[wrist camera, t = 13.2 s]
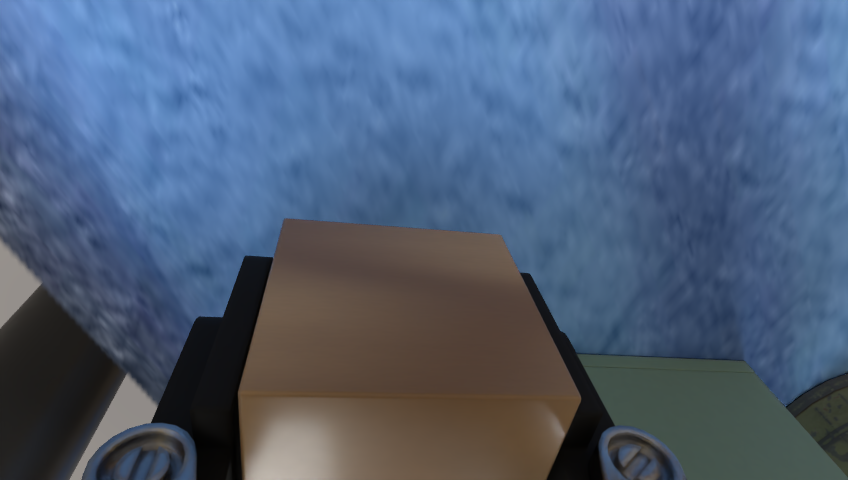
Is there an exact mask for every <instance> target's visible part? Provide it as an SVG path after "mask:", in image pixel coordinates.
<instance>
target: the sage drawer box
mask: <svg viewBox="0 0 848 480" xmlns="http://www.w3.org/2000/svg"><path fill="white" fill-rule="evenodd" d="M577 355H578V357H579V359H580V361H581V363H582V365H583V367H584V368H585V370H586V372H587V374H588V376H589V378H590V380H591V382H592V383H593V385H594V387H595V389H596V391H597V393H598V395H599V397H600V398H601V400H602V402H603V404H604V406H605V408H606V410H607V411H608V413H609V415H610V417H611V419H612V421H613V423H614V425H615V426H618V425H622V426H632V427H635V428H638V429H641V430H644V431H646V432H647V433H649V434H651V435H653V436H655V437H656V438H658V439H659V440H660V441H661V442H663V443H664V444H665V445H666V446H667V447H668V448H669V449H670V450H671V451H672V452H673V454H674V455H675V456H676V457H677V459H678V461H679V463H680V465H681V467H682V468H683V471H684V474H685V476H686V479H687V480H848V477H847V476H846V475H845V474H844V473H843V472H842V470H841V469H840V468H839V467H838V466H837V465H836V464H835V463H834V461H833V460H832V459H831V458H830V457H829V456H828V455H827V454H826V452H825V451H824V450H823V449H822V448H821V447H820V446H819V445H818V443H817V442H816V441H815V440H814V439H813V438H812V437H811V436H810V434H809V433H808V432H807V431H806V430H805V429H804V428H803V427H802V425H801V424H800V423H799V422H798V421H797V420H796V419H795V418H794V416H793V415H792V414H791V413H790V412H789V411H788V410H787V409H786V407H785V406H784V405H783V404H782V403H781V402H780V401H779V399H778V398H777V397H776V396H775V395H774V394H773V393H772V392H771V390H770V389H769V388H768V387H767V386H766V385H765V384H764V383H763V381H762V380H761V379H760V378H759V377H758V376H757V375H756V374H755V372H754V371H753V370H752V368H751V367H750V366H749V365H748V364H747V363H746V362H745V361H732V360H708V359H685V358H661V357H637V356H613V355H590V354H577Z"/></svg>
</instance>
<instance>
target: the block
mask: <svg viewBox="0 0 848 480" xmlns="http://www.w3.org/2000/svg"><path fill="white" fill-rule="evenodd" d="M580 402H581V396H580V394H579V392H578V390H577V388H576V386H575V384H574V381H573V379H572V377H571V375H570V373H569V371H568V369H567V367H566V365H565V363H564V361H563V359H562V357H561V355H560V353H559V351H558V349H557V347H556V345H555V343H554V341H553V339H552V337H551V335H550V333H549V331H548V329H547V327H546V325H545V323H544V321H543V319H542V317H541V315H540V313H539V311H538V309H537V307H536V305H535V303H534V301H533V299H532V297H531V295H530V293H529V291H528V288H527V286H526V284H525V282H524V280H523V278H522V276H521V274H520V272H519V270H518V268H517V266H516V264H515V262H514V260H513V258H512V256H511V254H510V252H509V250H508V248H507V246H506V244H505V242H504V240H503V238H502V236H501V235H499V234H487V233H474V232H460V231H447V230H434V229H421V228H407V227H394V226H381V225H368V224H354V223H341V222H328V221H314V220H301V219H288V218H286V219H284V221H283V224H282V228H281V231H280V235H279V239H278V243H277V247H276V250H275V254H274V258H273V262H272V265H271V269H270V273H269V277H268V281H267V284H266V288H265V292H264V296H263V299H262V303H261V307H260V311H259V315H258V318H257V322H256V326H255V330H254V333H253V337H252V341H251V345H250V349H249V352H248V356H247V360H246V364H245V367H244V371H243V375H242V379H241V383H240V386H239V390H238V408H239V428H240V448H241V467H242V480H547V478H548V475H549V473H550V471H551V468H552V466H553V464H554V462H555V459H556V457H557V455H558V452H559V450H560V448H561V445H562V443H563V441H564V439H565V436H566V434H567V432H568V429H569V427H570V425H571V423H572V420H573V418H574V416H575V413H576V411H577V409H578V406H579V404H580Z"/></svg>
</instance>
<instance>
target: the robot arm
mask: <svg viewBox="0 0 848 480" xmlns="http://www.w3.org/2000/svg"><path fill="white" fill-rule="evenodd" d="M272 262H273V257H259V256H245V257H244V259H243V262H242V265H241V268H240V271H239V273H238V276H237V279H236V282H235V284H234V287H233V290H232V293H231V296H230V298H229V301H228V304H227V307H226V310H225V312H224V315H223V317H201V316H199V317H198V318H197V319H196V320H195V322H194V324H193V326H192V328H191V331H190V333H189V335H188V338H187V340H186V342H185V345H184V347H183V349H182V352H181V354H180V356H179V359H178V361H177V363H176V366H175V368H174V370H173V373H172V375H171V377H170V380H169V382H168V384H167V387H166V389H165V391H164V394H163V396H162V398H161V401H160V403H159V405H158V408H157V410H156V412H155V415H154V417H153V419H152V422H151V423H150V424H143V425H140V426H136V427H133V428H129V429H127V430H125V431H123V432H121V433H119V434H117V435H115V436H113V437H112V438H111V439H110V440H108V441H107V442H106V443H104V444H103V445H102V446H101V447H99V449H98V450H97V451H96V452H95V454H94V455H93V456H92V457H91V459H90V460H89V461H88V464H87V466H86V468H85V471H84V473H83V476H82V480H242V467H241V448H240V428H239V408H238V390H239V386H240V383H241V379H242V375H243V371H244V367H245V364H246V360H247V356H248V352H249V349H250V345H251V341H252V337H253V333H254V330H255V326H256V322H257V318H258V315H259V311H260V307H261V303H262V299H263V296H264V292H265V288H266V284H267V281H268V277H269V273H270V269H271V265H272ZM520 274H521V276H522V278H523V280H524V282H525V284H526V286H527V288H528V291H529V293H530V295H531V297H532V299H533V301H534V303H535V305H536V307H537V309H538V311H539V313H540V315H541V317H542V319H543V321H544V323H545V325H546V327H547V329H548V331H549V333H550V335H551V337H552V339H553V341H554V343H555V345H556V347H557V349H558V351H559V353H560V355H561V357H562V359H563V361H564V363H565V365H566V367H567V369H568V371H569V373H570V375H571V377H572V379H573V381H574V384H575V386H576V388H577V390H578V392H579V394H580V396H581V402H580V404H579V406H578V409H577V411H576V413H575V416H574V418H573V420H572V423H571V425H570V427H569V429H568V432H567V434H566V436H565V439H564V441H563V443H562V445H561V448H560V450H559V452H558V455H557V457H556V459H555V462H554V464H553V466H552V468H551V471H550V473H549V475H548V478H547V480H687V479H686V476H685V474H684V471H683V468H682V467H681V465H680V463H679V461H678V459H677V457H676V456H675V455H674V454H673V452H672V451H671V450H670V449H669V448H668V447H667V446H666V445H665V444H664V443H663V442H661V441H660V440H659V439H658V438H656V437H655V436H653V435H651V434H649V433H647V432H646V431H644V430H641V429H638V428H635V427H632V426H622V425H618V426H615V425H614V423H613V421H612V419H611V417H610V415H609V413H608V411H607V410H606V408H605V406H604V404H603V402H602V400H601V398H600V397H599V395H598V393H597V391H596V389H595V387H594V385H593V383H592V382H591V380H590V378H589V376H588V374H587V372H586V370H585V368H584V367H583V365H582V363H581V361H580V359H579V357H578V355H577V353H576V352H575V350H574V348H573V346H572V344H571V342H570V340H569V339H568V337H567V336H566V334H565V333H563V332H561V331H560V330H559V328H558V326H557V324H556V322H555V320H554V318H553V316H552V315H551V313H550V311H549V309H548V307H547V305H546V303H545V301H544V299H543V297H542V295H541V294H540V292H539V290H538V288H537V286H536V284H535V282H534V280H533V278H532V276H531V275H530V274H528V273H520Z"/></svg>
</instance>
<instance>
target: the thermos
mask: <svg viewBox="0 0 848 480" xmlns="http://www.w3.org/2000/svg"><path fill="white" fill-rule="evenodd" d="M786 409H787V410H788V411H789V412H790V413H791V414H792V415H793V416H794V418H795V419H796V420H797V421H798V422H799V423H800V424H801V425H802V427H803V428H804V429H805V430H806V431H807V432H808V433H809V434H810V436H811V437H812V438H813V439H814V440H815V441H816V442H817V443H818V445H819V446H820V447H821V448H822V449H823V450H824V451H825V452H826V454H827V455H828V456H829V457H830V458H831V459H832V460H833V461H834V463H835V464H836V465H837V466H838V467H839V468H840V469H841V470H842V472H843V473H844V474H845V475H846V476H847V477H848V374H845V375H842V376H840V377H837V378H834V379H831V380H829V381H826V382H824V383H823V384H821V385H819V386H817V387H815V388H814V389H812V390H810V391H808V392H806V393H805V394H803V395H802V396H800V397H799V398H798V399H797V400H795V401H794V402H793V403H792V404H791V405H789V406H788V407H787V408H786Z"/></svg>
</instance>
